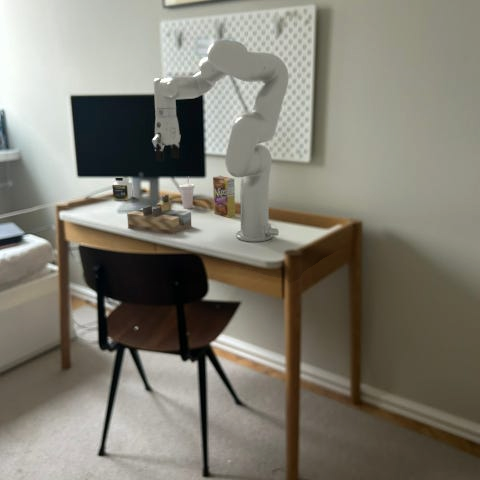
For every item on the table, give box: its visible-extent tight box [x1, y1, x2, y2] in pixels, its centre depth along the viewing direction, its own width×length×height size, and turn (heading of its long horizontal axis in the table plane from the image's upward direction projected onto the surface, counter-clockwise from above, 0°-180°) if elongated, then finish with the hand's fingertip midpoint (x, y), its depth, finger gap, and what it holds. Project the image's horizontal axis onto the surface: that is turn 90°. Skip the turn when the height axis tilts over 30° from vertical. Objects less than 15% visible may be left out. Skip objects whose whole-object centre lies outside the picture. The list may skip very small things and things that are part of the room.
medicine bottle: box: [111, 177, 133, 201], centre depth 237 cm, size 7×7×12 cm
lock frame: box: [126, 204, 192, 235], centre depth 190 cm, size 20×12×8 cm, turn 63°
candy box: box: [212, 175, 236, 218], centre depth 206 cm, size 9×4×15 cm, turn 41°
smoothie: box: [178, 177, 195, 210], centre depth 218 cm, size 6×6×14 cm
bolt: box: [155, 194, 172, 212], centre depth 192 cm, size 2×6×5 cm, turn 153°
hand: (167, 159), depth 194 cm, fingers open, 9 cm apart
